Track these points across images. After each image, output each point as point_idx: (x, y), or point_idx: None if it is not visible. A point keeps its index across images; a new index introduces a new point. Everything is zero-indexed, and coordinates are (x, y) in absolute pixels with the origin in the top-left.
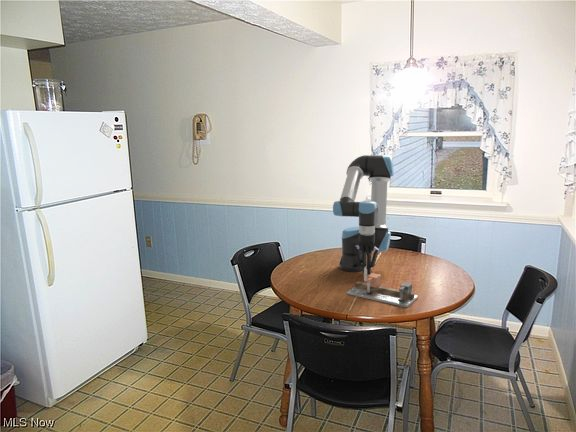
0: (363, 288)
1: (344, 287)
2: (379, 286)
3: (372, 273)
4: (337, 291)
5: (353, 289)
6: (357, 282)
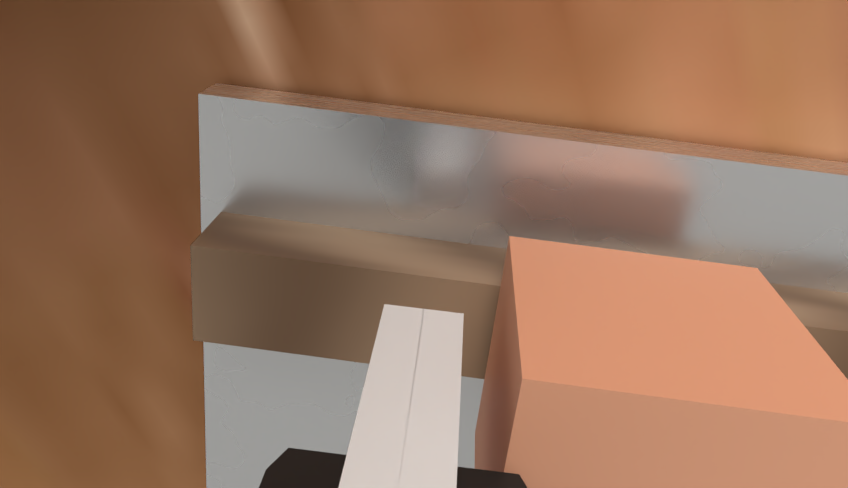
0: None
1: (26, 268)
2: None
3: (570, 414)
4: (42, 449)
5: (251, 425)
6: (212, 309)
